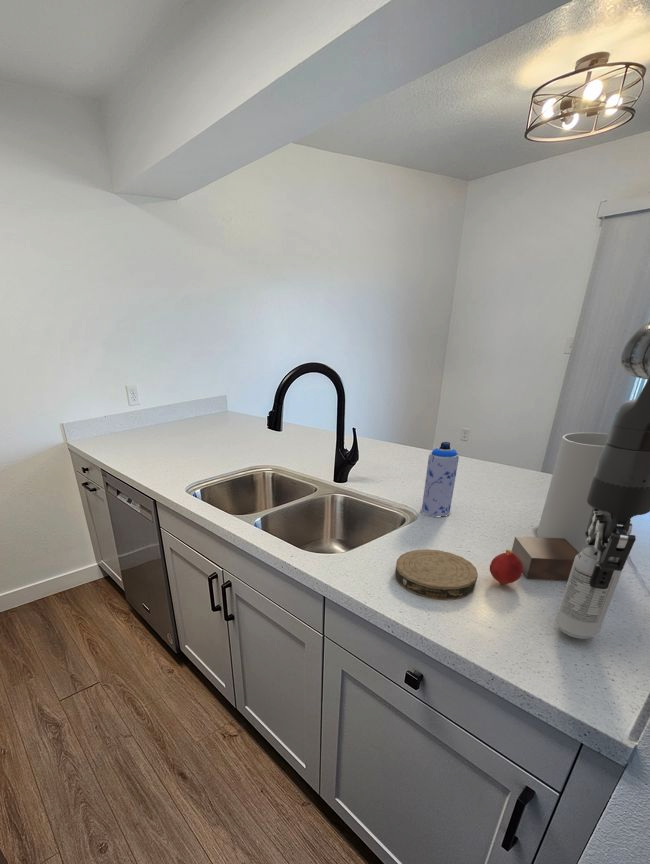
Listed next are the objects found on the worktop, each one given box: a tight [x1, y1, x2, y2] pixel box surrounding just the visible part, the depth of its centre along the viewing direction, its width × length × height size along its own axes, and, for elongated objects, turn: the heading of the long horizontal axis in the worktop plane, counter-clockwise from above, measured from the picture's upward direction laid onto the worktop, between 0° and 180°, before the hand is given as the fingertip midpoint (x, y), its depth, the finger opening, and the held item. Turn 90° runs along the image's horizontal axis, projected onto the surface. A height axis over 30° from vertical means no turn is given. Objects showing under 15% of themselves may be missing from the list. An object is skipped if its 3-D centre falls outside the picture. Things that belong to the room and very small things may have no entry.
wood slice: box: [394, 548, 479, 601], centre depth 92 cm, size 16×16×3 cm
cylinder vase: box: [535, 432, 609, 553], centre depth 98 cm, size 12×12×25 cm
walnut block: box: [511, 536, 579, 582], centre depth 93 cm, size 10×10×5 cm
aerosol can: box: [420, 441, 460, 517], centre depth 120 cm, size 8×8×20 cm
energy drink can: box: [555, 545, 623, 640], centre depth 71 cm, size 6×6×15 cm
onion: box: [489, 549, 523, 586], centre depth 88 cm, size 6×6×8 cm
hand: (593, 576), depth 69 cm, fingers closed on energy drink can, 6 cm apart
